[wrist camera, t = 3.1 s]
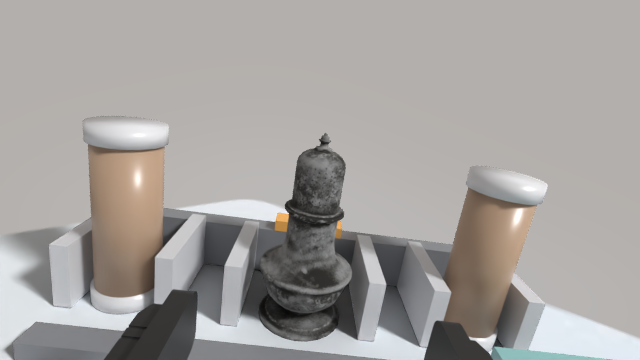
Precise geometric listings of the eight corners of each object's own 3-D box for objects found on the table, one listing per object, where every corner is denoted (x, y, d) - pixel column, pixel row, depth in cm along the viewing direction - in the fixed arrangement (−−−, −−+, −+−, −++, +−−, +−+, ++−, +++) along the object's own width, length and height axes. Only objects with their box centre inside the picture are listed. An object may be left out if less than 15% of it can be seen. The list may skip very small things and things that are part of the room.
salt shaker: (289, 277, 28) (310, 121, 24) (358, 310, 25) (392, 140, 21) (234, 314, 23) (251, 125, 19) (312, 361, 20) (348, 150, 16)
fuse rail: (-5, 358, 17) (-16, 279, 16) (123, 243, 29) (122, 192, 27) (568, 416, 19) (597, 349, 17) (471, 285, 30) (485, 239, 29)
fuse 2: (440, 350, 22) (489, 181, 19) (421, 307, 26) (459, 162, 23) (506, 357, 22) (565, 191, 19) (476, 314, 26) (521, 171, 23)
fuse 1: (75, 309, 21) (63, 123, 18) (113, 271, 25) (110, 113, 22) (148, 317, 21) (149, 134, 18) (174, 278, 25) (179, 123, 22)
